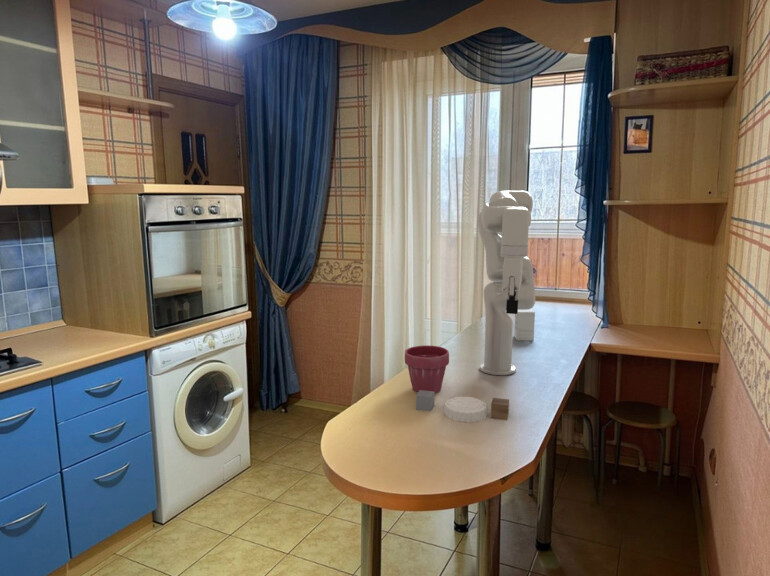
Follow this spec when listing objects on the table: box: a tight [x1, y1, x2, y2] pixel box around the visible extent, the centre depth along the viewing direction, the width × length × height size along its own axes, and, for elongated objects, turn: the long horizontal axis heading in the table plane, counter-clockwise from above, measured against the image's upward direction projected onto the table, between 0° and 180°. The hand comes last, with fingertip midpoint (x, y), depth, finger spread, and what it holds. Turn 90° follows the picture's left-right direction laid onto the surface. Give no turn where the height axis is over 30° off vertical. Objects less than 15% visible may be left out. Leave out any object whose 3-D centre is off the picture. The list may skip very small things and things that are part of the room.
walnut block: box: [490, 397, 510, 421], centre depth 153 cm, size 4×4×4 cm
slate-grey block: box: [415, 390, 436, 412], centre depth 160 cm, size 4×4×4 cm
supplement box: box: [513, 308, 536, 342], centre depth 235 cm, size 7×7×13 cm
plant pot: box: [404, 345, 450, 394], centre depth 174 cm, size 14×14×13 cm
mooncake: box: [443, 396, 488, 423], centre depth 155 cm, size 12×12×4 cm
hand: (511, 313), depth 161 cm, fingers closed
